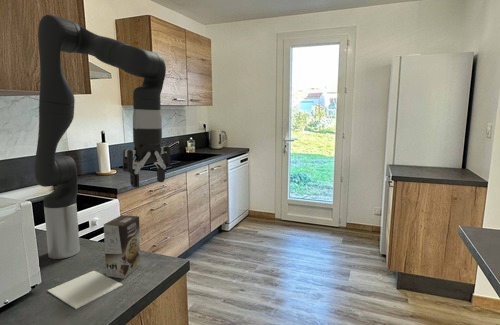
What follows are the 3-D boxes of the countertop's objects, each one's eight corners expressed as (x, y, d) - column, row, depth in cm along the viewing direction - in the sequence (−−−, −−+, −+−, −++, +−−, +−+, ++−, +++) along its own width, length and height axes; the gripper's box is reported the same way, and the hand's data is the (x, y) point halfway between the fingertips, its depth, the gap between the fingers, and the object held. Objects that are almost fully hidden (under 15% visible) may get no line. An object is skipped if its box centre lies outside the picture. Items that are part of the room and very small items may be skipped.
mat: (47, 291, 83) (47, 290, 83) (94, 271, 94) (94, 270, 94) (76, 309, 76) (76, 308, 76) (122, 285, 87) (122, 284, 87)
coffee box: (125, 279, 90) (122, 225, 87) (105, 276, 91) (102, 224, 89) (142, 264, 99) (140, 215, 96) (123, 262, 100) (121, 214, 98)
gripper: (159, 125, 93) (159, 178, 95) (115, 126, 81) (117, 186, 84) (176, 126, 89) (176, 182, 91) (133, 128, 77) (135, 191, 80)
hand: (148, 184), depth 87 cm, fingers open, 8 cm apart
